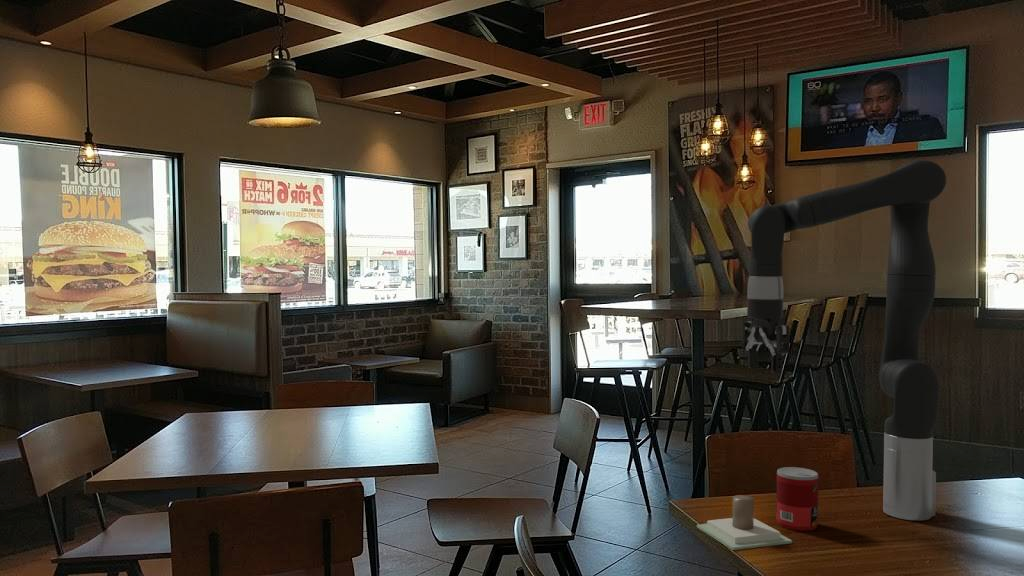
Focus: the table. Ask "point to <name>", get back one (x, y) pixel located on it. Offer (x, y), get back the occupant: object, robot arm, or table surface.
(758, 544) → the mat
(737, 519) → the lid
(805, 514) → the canned food
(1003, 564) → the table surface
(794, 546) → the table surface
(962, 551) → the table surface
